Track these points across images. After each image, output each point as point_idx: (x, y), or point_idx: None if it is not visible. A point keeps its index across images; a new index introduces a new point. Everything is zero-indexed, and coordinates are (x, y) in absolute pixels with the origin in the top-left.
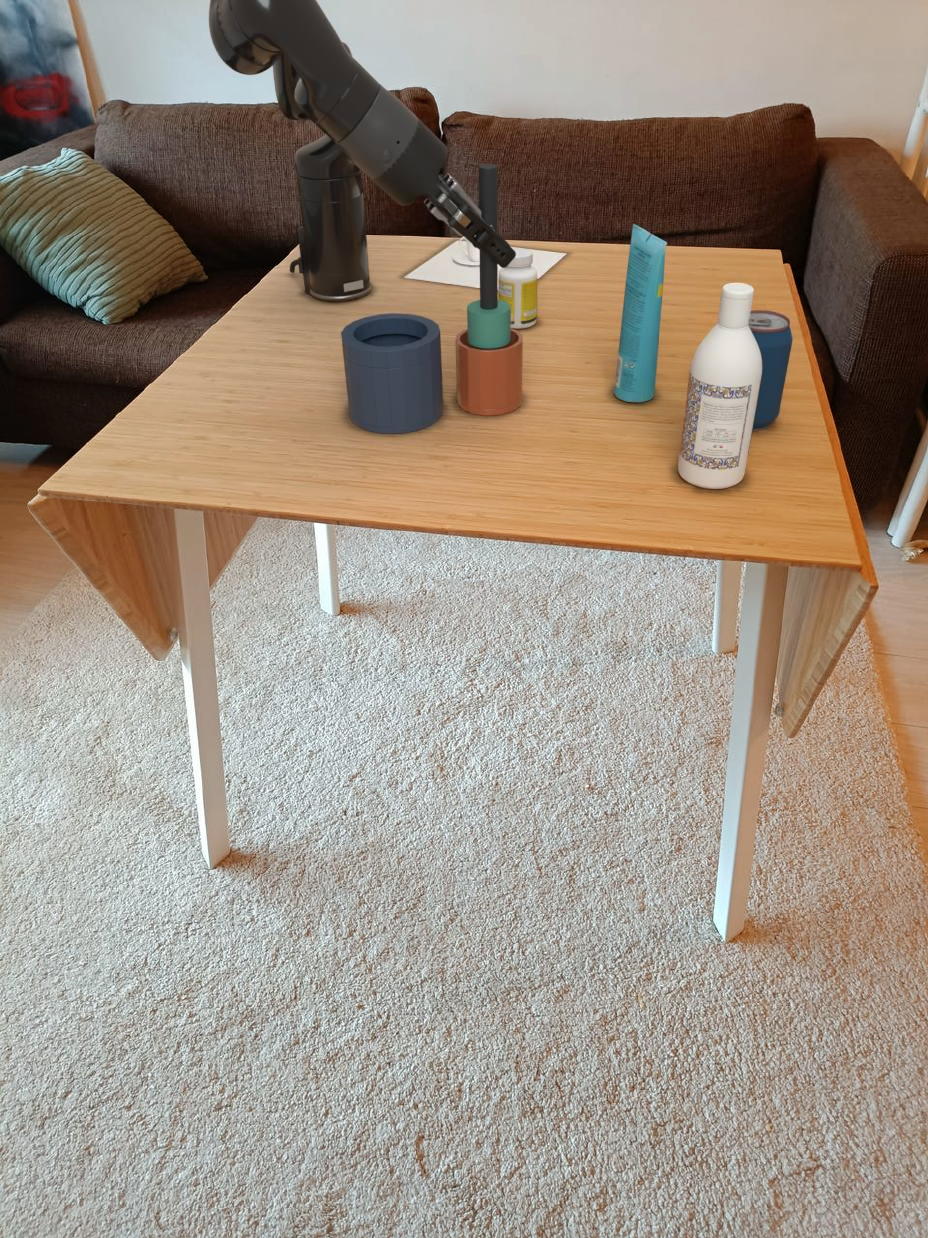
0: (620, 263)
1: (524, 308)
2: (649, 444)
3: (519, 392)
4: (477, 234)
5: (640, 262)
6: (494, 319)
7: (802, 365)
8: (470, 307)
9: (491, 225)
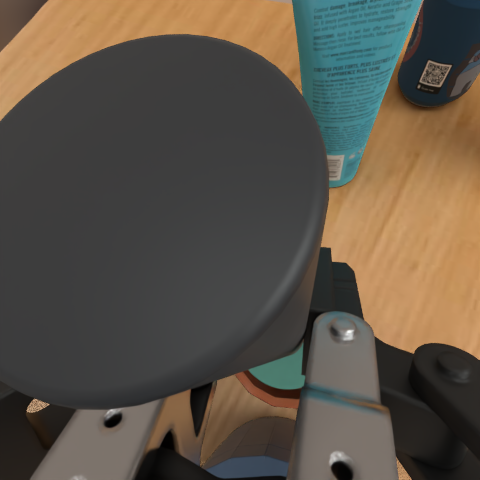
0: (18, 83)
1: None
2: (470, 194)
3: None
4: (445, 451)
5: (363, 8)
6: None
7: None
8: (274, 378)
9: (351, 328)
